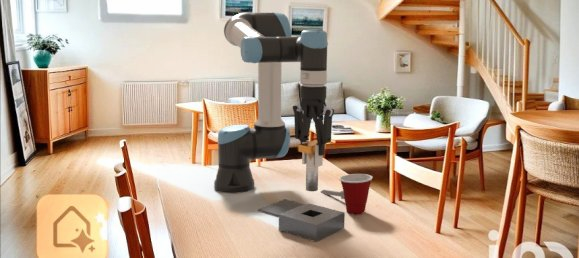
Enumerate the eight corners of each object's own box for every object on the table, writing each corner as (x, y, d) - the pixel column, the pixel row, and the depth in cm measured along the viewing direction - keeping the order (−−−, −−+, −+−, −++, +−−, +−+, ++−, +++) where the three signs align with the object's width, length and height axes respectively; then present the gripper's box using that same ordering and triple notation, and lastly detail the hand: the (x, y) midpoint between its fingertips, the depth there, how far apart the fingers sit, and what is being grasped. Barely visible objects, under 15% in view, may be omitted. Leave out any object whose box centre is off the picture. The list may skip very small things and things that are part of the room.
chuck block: (278, 230, 164) (278, 214, 163) (307, 218, 174) (307, 203, 174) (316, 241, 155) (316, 225, 154) (344, 228, 166) (344, 212, 165)
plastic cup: (345, 204, 188) (346, 170, 186) (376, 209, 183) (377, 174, 181) (333, 214, 178) (333, 178, 176) (364, 219, 174) (365, 182, 171)
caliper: (354, 208, 185) (355, 190, 184) (352, 208, 185) (352, 190, 184) (322, 192, 203) (323, 175, 202) (320, 192, 203) (320, 176, 201)
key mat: (257, 210, 181) (257, 208, 181) (285, 200, 192) (285, 199, 192) (295, 221, 171) (295, 219, 171) (321, 210, 182) (321, 208, 182)
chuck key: (314, 185, 167) (315, 140, 164) (325, 187, 164) (326, 142, 162) (298, 191, 161) (298, 144, 158) (308, 194, 158) (309, 146, 156)
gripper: (282, 84, 159) (281, 162, 164) (330, 88, 149) (328, 172, 153) (298, 82, 165) (297, 157, 169) (345, 86, 154) (343, 167, 159)
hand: (312, 164), depth 161 cm, fingers closed on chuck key, 4 cm apart
